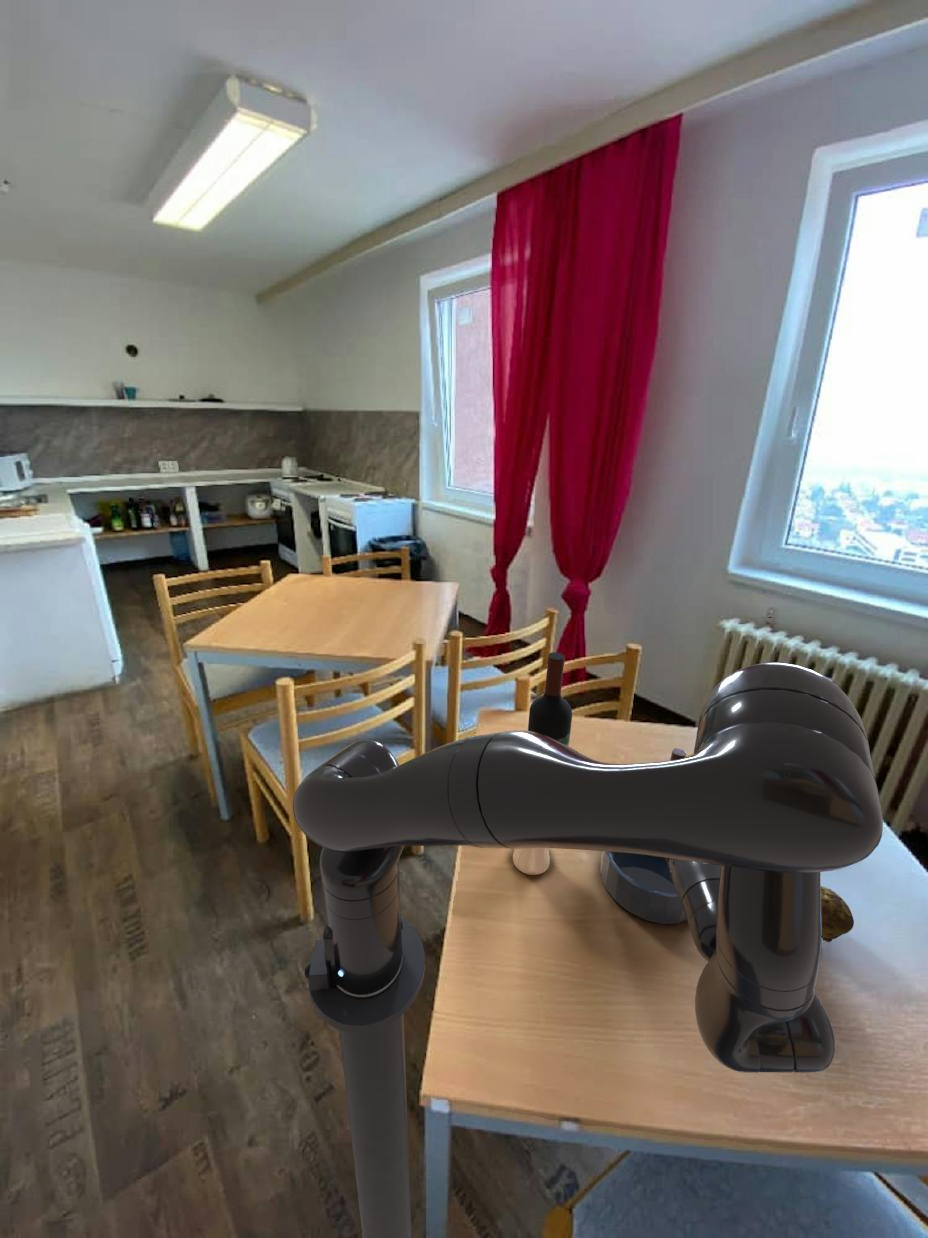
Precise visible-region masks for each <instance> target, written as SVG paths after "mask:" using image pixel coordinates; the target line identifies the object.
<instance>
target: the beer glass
mask: <svg viewBox="0 0 928 1238" xmlns="http://www.w3.org/2000/svg"><path fill="white" fill-rule="evenodd" d="M549 849H550V848H527V849H513V853H512V862H513V865H514V866H515V868H516V869H517V870H518V871H520V872H521V873H523V874H525V875H529V876H538V875H542V874H544V873H545V872H546V871H547V870H548V869H549V867H550V864H551V863H550V862H551V857H550V850H549Z"/></svg>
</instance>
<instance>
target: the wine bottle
mask: <svg viewBox="0 0 928 1238" xmlns="http://www.w3.org/2000/svg"><path fill="white" fill-rule="evenodd" d="M565 657H566V656H565V655H564V654H563V653H561V652H558V651H557V652H549V653H548V655H547V660H546V664H547V665H546V676H545V688H544V693H543V694H542V695H539V696H538V697H536V698H535V699H534V700H533V701H532V702H531V703H530V706H529V711H528V712H529V713H528V722H527V723H528V725H527V731H533V732H537V733H540V734H543V735H546V736H548V737H550V738H553V739H555V740H557V741H559V742H561V743H563V744H565V745H566V746H568V747H570V737H571V731H572V730H571V729H572V721H573V709H572V707H571V705H570V703H569V702H568V701H567V700H566V699H565V698H564V697H562V685H563V675H564V667H565V661H566V660H565Z"/></svg>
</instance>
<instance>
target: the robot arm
mask: <svg viewBox="0 0 928 1238" xmlns="http://www.w3.org/2000/svg"><path fill="white" fill-rule="evenodd" d="M870 749H871V748H870V743H869V740H868V735H867V732H866V729H865V726H864V723H863V720H862V718H861V715H860V713H859V712H858V710H857V708H856V706H855V705H854V704H853V702H852V700H851V698H850V697H849V696H848V695H847V694H846V693H845V692H844V691H843V689H841V687H839V686H838V685H837V684H836V683H834V682H833V681H832V680H831V679H829V678H828V677H826V676H825V675H823V674H822V673H818V672H817V671H814V670H813V669H810V668H807V667H805V666H800V665H797V664H792V663H790V664H789V663H784V662H763V663H757V664H750V665H748V666H745V667H742V668H740V669H736V670H735V671H733V672H732V673H730V674H729V675H726V676H725V677H724V678H722V680H721V681H719V682H718V683H717V685H715V686H714V688H713V689H712V691H711V692H710V694H709V695H708V697H707V699H705V703H704V705H703V708H702V711H701V713H700V716H699V720H698V724H697V730H696V736H695V743H694V749H693V753H692V754H693V755H692V756H689V757H685V758H682V759H676V760H664V761H655V762H642V763H641V762H639V763H611V762H609V763H608V762H604V761H603V762H602V761H598V760H596V759H593V758H590V757H589V756H586V755H585V754H583V753H581V752H579V751H578V750H576V749H574V748H572V747H570V746H569V747H568V746H566V745H565V744H563V743H561V742H559V741H557V740H555V739H553V738H550V737H548V736H546V735H543V734H540V733H537V732H533V731H528V730H508V731H507V730H506V731H500V732H494V733H486V734H480V735H472V736H468V737H464V738H462V739H461V738H460V739H457V740H453V741H451V742H448V743H445V744H443V745H440V746H438V747H435V748H433V749H431V750H428V751H426V752H424V753H422V754H420V755H418V756H415V757H413V758H411V759H409V760H407V761H405V762H403V763H401V764H399V761H398V760H397V758H396V756H395V755H394V754H393V753H392V752H391V751H390V750H389V749H388V748H387V747H386V746H385V745H383V744H382V743H381V742H378V741H376V740H371V739H360V740H356V741H354V742H352V743H350V744H348V745H347V746H346V747H344V748H343V749H342V750H340V751H338V752H337V753H336V754H334V755H332V756H331V757H330V758H328V759H327V760H326V761H325V762H323V763H322V764H320V765H319V766H317V767H316V768H315V769H314V770H312V771H311V772H310V773H308V774H307V775H306V776H305V777H304V779H302V781H301V782H300V783H299V785H298V786H297V788H296V791H295V792H294V794H293V795H294V796H293V800H292V811H293V817H294V820H295V822H296V824H297V826H298V828H299V829H300V831H301V832H302V833H303V834H304V835H305V837H307V839H309V840H310V841H311V842H313V843H314V844H316V845H318V846H319V847H321V852H320V854H319V873H320V882H321V891H322V898H323V907H324V917H325V921H324V926H323V932H322V937H323V940H321V939H316V940H315V941H314V945H313V946H314V947H313V952H312V954H313V956H312V955H311V957H312V961H311V963H310V962H309V964H308V965H307V966H305V968H304V976H305V977H306V978H307V980H308V979H309V983H310V989H311V990H320V989H329V988H337V989H338V990H339V991H340V992H341V993H343V994H344V995H346V996H348V997H350V998H353V999H370V998H373V997H376V996H378V995H380V994H382V993H384V992H385V991H386V990H388V989H389V988H390V987H391V986H392V985H393V984H394V982H395V981H396V980H397V978H398V976H399V974H400V972H401V969H402V964H403V950H402V934H401V928H402V929H403V922H402V921H401V917H402V912H401V911H402V910H401V909H402V907H401V881H400V879H401V877H400V858H401V856H402V853H403V852H404V851H403V850H404V848H405V847H415V846H416V847H446V846H447V847H448V846H449V847H469V848H470V847H471V848H479V849H504V850H505V849H508V850H509V849H510V850H514V849H527V848H549V849H556V850H557V849H558V850H560V849H561V850H578V851H579V850H580V851H594V852H595V851H596V852H602V851H609V852H623V853H634V854H642V855H649V856H656V857H663V858H666V861H667V865H668V868H669V873H670V878H671V880H672V881H673V884H674V887H675V890H676V893H677V895H678V897H679V899H680V901H681V903H682V906H683V908H684V912H685V915H686V918H687V920H686V921H687V924H688V929H689V931H690V934H691V937H692V940H693V943H694V946H695V948H696V950H697V953H699V955H700V956H701V958H703V959H704V960H705V961H706V964H705V965H704V968H703V969H702V972H701V973H700V976H699V978H698V979H697V980H698V981H697V984H696V988H695V996H694V1012H695V1020H696V1024H697V1028H698V1031H699V1034H700V1037H701V1039H702V1041H703V1043H704V1045H705V1048H707V1050H708V1051H709V1053H710V1055H712V1056H713V1057H714V1059H715V1060H717V1061H718V1062H719V1063H720V1064H721V1065H722V1066H723V1067H726V1068H727V1069H729V1070H732V1071H733V1072H738V1073H750V1074H751V1073H753V1074H754V1073H757V1074H759V1073H772V1074H773V1073H778V1074H779V1073H783V1074H784V1073H787V1074H789V1073H794V1074H796V1073H797V1074H798V1073H800V1074H804V1073H805V1074H808V1073H813V1074H814V1073H820V1072H823V1071H825V1070H826V1069H828V1068H829V1067H830V1066H831V1064H832V1063H833V1061H834V1057H835V1053H836V1037H835V1033H834V1028H833V1025H832V1022H831V1019H830V1017H829V1015H828V1013H827V1010H826V1008H825V1007H824V1005H823V1003H822V1001H821V999H820V998H819V996H818V995H817V993H816V989H817V982H818V976H819V971H820V970H819V969H820V963H821V962H820V961H821V951H822V950H821V949H822V938H821V887H820V886H821V873H823V872H831V871H837V870H841V869H845V868H847V867H850V866H853V865H855V864H858V863H860V862H862V861H864V860H866V859H868V857H869V856H871V855H872V853H873V852H874V851H875V850H876V848H878V846H879V844H880V842H881V840H882V837H883V829H884V819H883V811H882V810H883V809H882V805H881V799H880V794H879V793H880V792H879V787H878V785H877V781H876V776H875V772H874V766H873V760H872V756H871V752H870Z"/></svg>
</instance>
